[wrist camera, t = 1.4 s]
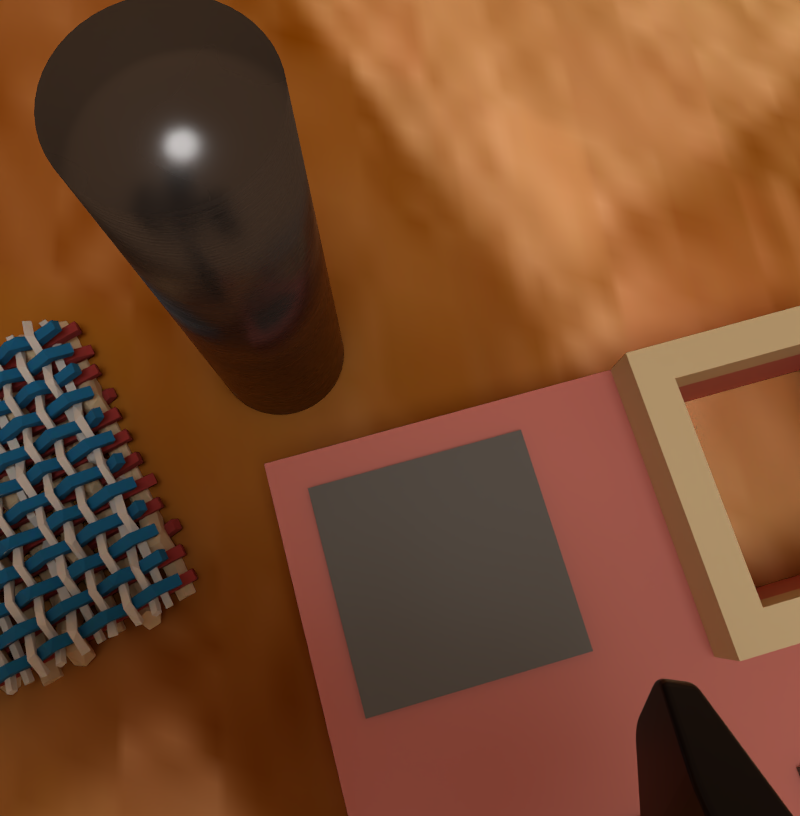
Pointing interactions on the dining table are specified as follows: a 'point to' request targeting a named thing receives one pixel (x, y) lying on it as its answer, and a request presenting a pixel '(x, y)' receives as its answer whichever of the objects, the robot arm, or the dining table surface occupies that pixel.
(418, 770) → the pink control box
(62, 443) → the woven mat
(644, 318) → the dining table surface
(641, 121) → the dining table surface
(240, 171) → the stool leg
